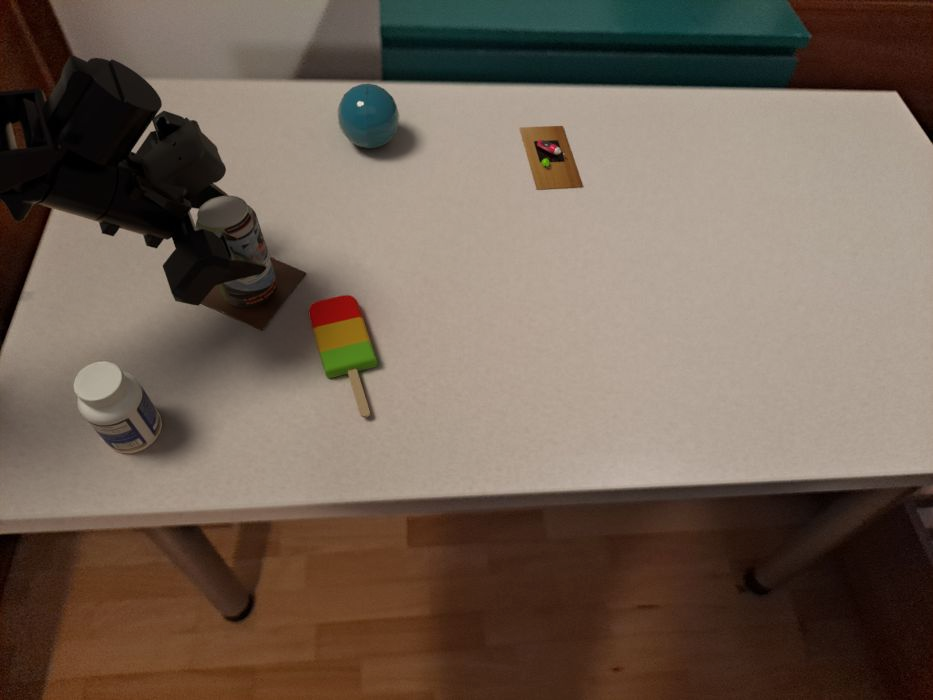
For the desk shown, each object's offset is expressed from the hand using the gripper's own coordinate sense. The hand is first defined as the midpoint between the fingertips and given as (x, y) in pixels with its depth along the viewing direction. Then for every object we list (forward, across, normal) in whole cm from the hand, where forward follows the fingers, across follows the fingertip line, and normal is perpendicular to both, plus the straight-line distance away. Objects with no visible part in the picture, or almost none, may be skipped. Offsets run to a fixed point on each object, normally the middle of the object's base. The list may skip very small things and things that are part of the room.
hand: (250, 237), depth 72 cm
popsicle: (+9, -14, +2) cm, 17 cm away
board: (+35, +6, -24) cm, 43 cm away
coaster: (+4, 0, +6) cm, 8 cm away
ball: (+20, +18, -9) cm, 28 cm away
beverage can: (+4, -1, +6) cm, 8 cm away
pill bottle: (-6, -13, +18) cm, 23 cm away
